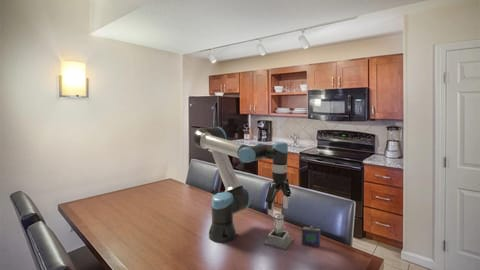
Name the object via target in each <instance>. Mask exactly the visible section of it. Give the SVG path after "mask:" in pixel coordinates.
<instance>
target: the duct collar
mask: <svg viewBox="0 0 480 270" xmlns="http://www.w3.org/2000/svg"><path fill="white" fill-rule="evenodd" d="M289 234H290V231H286V230H283V238H282V237H278V236H274V228H273V229H272V230H271V231H270V232H269V233H268V235H267V239H266V240H265V241H263V246H269V247H271V248H276V249H280V250H282V251H283V250H284V251H287V249H288V248H289V246H290V244H291V243H292V241H294V240H293V239H294V238H291V237H290V235H289Z"/></svg>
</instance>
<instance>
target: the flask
mask: <svg viewBox="0 0 480 270" xmlns="http://www.w3.org/2000/svg"><path fill="white" fill-rule="evenodd" d="M301 228H302V229H301V231H302V232H301V233H302V234H301V246H304V247H313V248H320V247H321V229H320V228H314V226H313V225H310V226H309V227H307V226H304V227H301Z"/></svg>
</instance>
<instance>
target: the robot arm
mask: <svg viewBox="0 0 480 270" xmlns="http://www.w3.org/2000/svg"><path fill="white" fill-rule="evenodd" d="M191 140H192V142H193V144H194V145H195V146H197V147H198V148H200V149H203V150H206V149H207V151H208V152H210V153H211V154H212V157H213V160H214V162H215V165H216V167H217V171H218V173H219V176H220V179H221V180H222V183H223V185H224V188H225V190H224V191H223V192H218V193H215V194H214V195H213V196H212V198H211V224H210V228H209V231H208V238H209V239H210V240H211V241H212V242H216V243H227V242H231V241H232V240H235V238H236V237H237V230H236V228H235V224H234V215H235V214H237V213H239V212H241V211H244V210H246V208H248V207H249V206H250V205H251V202H252V197H251V196H252V195H251V193H250V191H249V190H248V189H246V188H244V186H243V184H241V183H240V182H239V180H238V177H237V175H236V173H235V171H234V167H233V165H232V163H231V160H230V157H229V156H231V157H234V158H237V159H239V161H240V162H241V163H244V164H246V163H252V162H255V161H260V160H263V159H266V160H272V173H271V179H272V180H273V182H269V187H268V190H267V193H266V197H265V200H264V201H265V203H267V215H268V216H271V217H274V200H275V198H276V196H277V193H278V192H279V191H280V190H281V192H282V193H283V197H282V198H283V199H282V208H283V209H285V210H288V209H289V197H291V195H292V192H291V187H290V184H289V179H288V173H287V172H288V153H289V148H288V147H289V144H288V143H287V142H284V141H275V142H273V144H264V143H255V144H254V145H251V146H250V145H246V144H243V143H240V142H236V141H232V140H229V139H227V134H226V132H225V130H224V128H222V127H220V126H211V127H210V126H209V127H208V126H207V127H199V128H197V129H195V131H194V132H193V134H192V139H191Z"/></svg>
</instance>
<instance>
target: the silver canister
mask: <svg viewBox="0 0 480 270" xmlns="http://www.w3.org/2000/svg"><path fill="white" fill-rule="evenodd" d="M273 218H274V219H273V221H274V222H273V223H274V226H273V229H274V236H278V237H282V238H283V231H284V218H285V216H284V214H282V213H275V214H273Z"/></svg>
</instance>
